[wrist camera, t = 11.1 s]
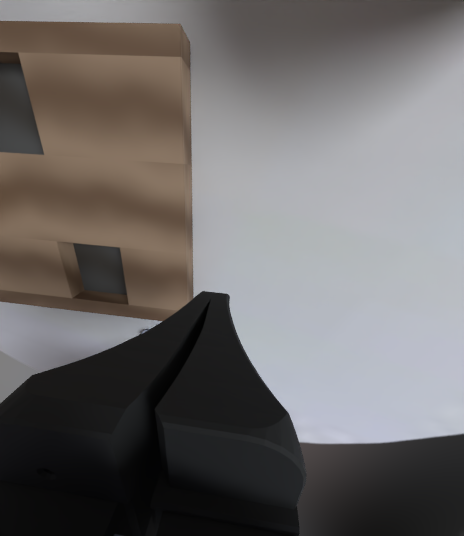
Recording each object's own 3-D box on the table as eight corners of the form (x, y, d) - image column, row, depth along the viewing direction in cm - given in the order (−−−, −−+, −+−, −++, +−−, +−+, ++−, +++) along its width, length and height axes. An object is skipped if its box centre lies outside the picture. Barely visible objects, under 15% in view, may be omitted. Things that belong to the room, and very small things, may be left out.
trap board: (193, 312, 24) (188, 324, 22) (7, 290, 25) (-12, 300, 23) (190, 42, 15) (180, 23, 13) (-97, 36, 16) (-141, 18, 14)
